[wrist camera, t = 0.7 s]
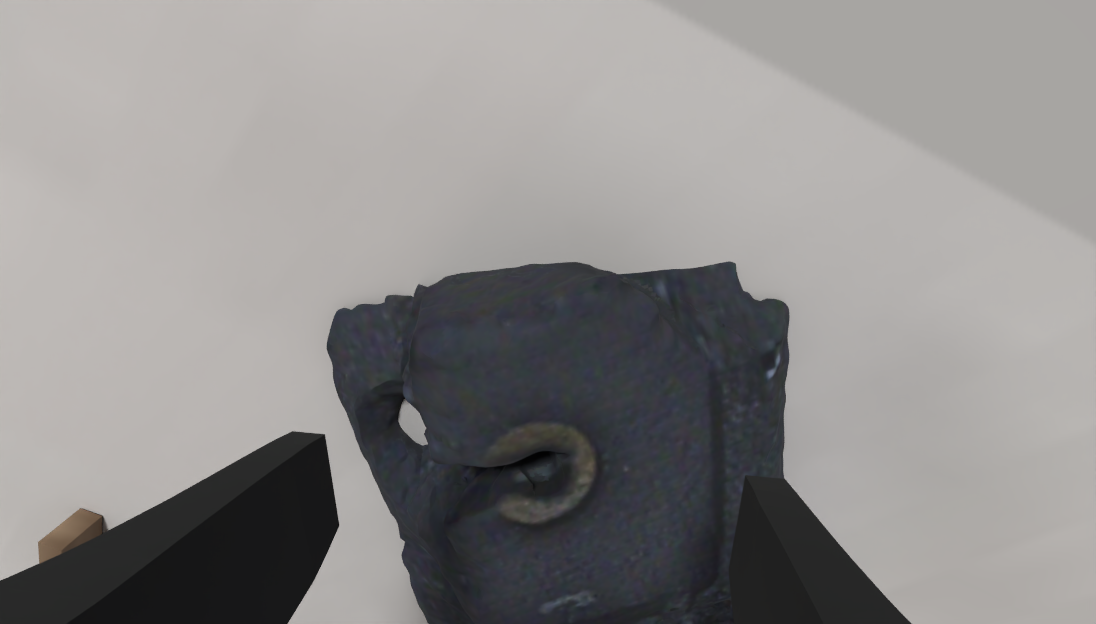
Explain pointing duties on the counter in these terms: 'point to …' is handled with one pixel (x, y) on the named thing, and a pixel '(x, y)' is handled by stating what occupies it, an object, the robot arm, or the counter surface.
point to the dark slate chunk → (568, 437)
